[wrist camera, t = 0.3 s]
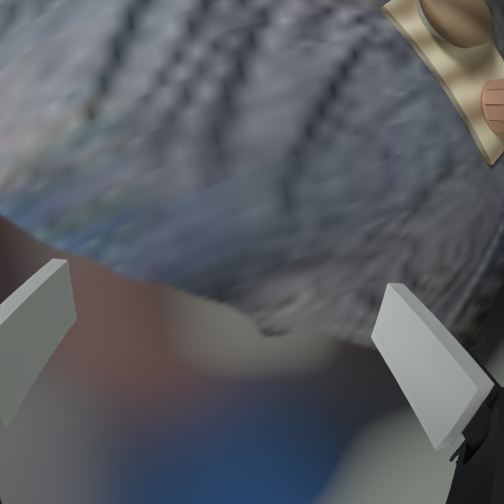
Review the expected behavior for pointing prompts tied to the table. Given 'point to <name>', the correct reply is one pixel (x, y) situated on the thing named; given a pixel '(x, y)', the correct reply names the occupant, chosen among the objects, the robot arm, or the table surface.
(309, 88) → the table surface
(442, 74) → the serving board
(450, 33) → the lid
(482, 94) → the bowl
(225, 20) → the table surface
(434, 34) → the light grey domed disc
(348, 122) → the table surface
